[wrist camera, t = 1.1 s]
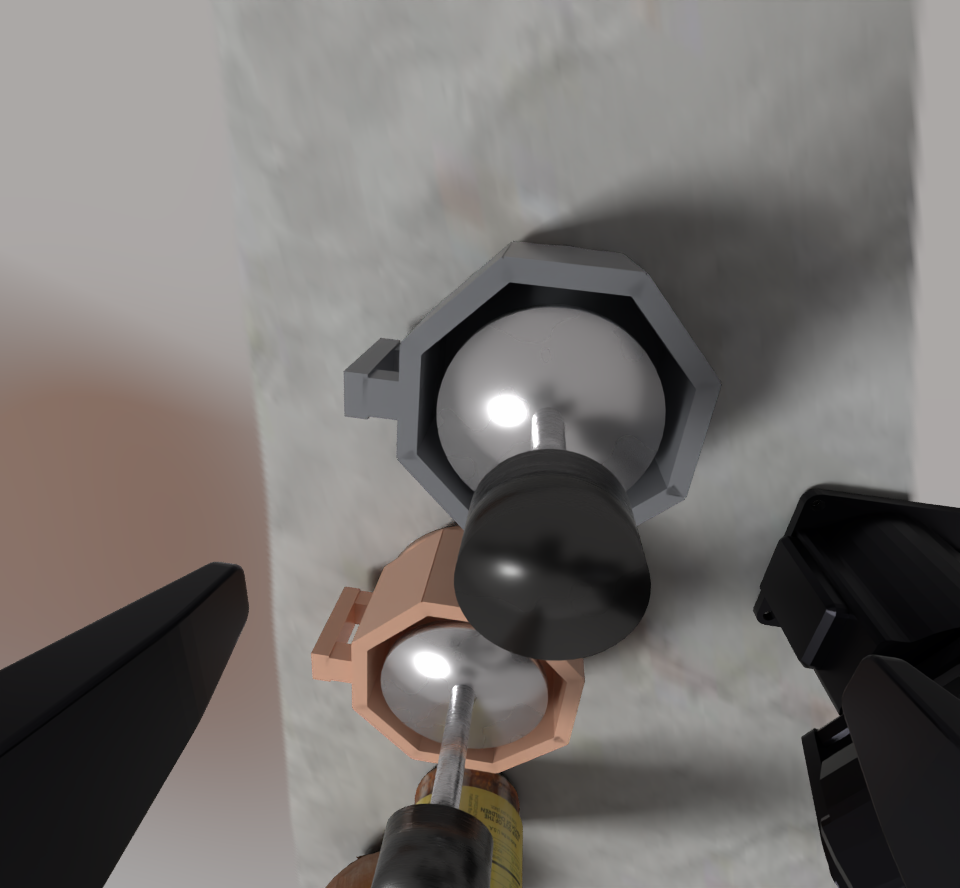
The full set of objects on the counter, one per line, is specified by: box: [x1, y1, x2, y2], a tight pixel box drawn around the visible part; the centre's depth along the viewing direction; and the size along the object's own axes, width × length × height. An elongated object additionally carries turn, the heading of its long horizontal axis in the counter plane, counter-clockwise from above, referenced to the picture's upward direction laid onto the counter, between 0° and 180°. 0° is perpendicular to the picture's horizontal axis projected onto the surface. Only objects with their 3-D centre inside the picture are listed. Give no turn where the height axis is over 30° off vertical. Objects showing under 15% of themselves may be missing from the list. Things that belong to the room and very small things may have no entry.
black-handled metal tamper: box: [371, 619, 548, 888], centre depth 17 cm, size 6×6×8 cm
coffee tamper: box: [437, 304, 666, 661], centre depth 12 cm, size 6×6×8 cm
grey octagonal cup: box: [344, 241, 722, 530], centre depth 17 cm, size 10×9×5 cm
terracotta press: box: [311, 526, 585, 773], centre depth 22 cm, size 10×9×5 cm
